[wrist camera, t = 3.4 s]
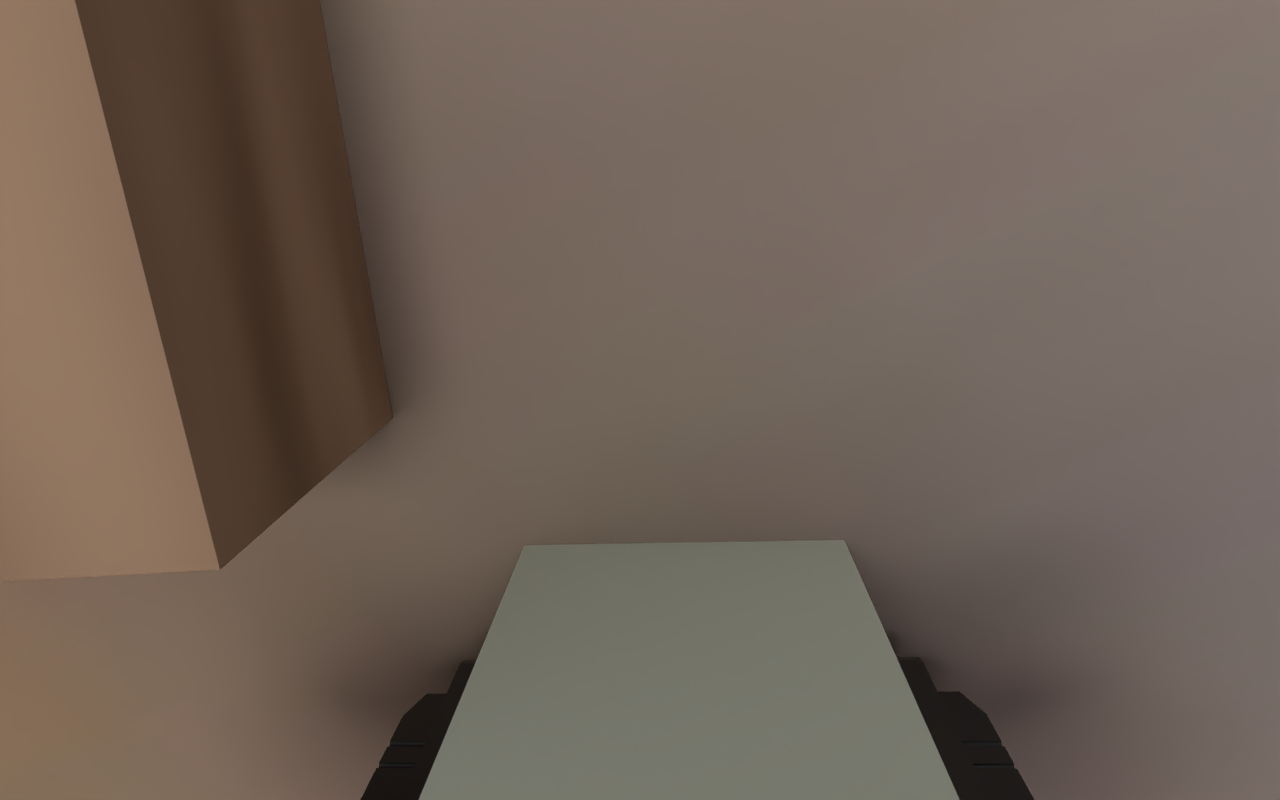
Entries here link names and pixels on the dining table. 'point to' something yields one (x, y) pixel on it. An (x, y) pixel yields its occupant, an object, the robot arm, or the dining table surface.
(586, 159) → the dining table surface
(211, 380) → the walnut block
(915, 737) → the sage cube
